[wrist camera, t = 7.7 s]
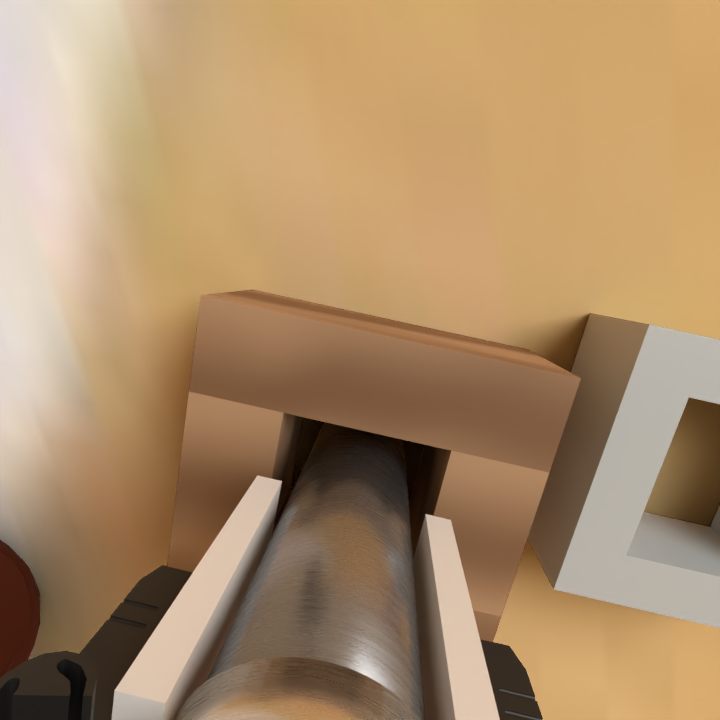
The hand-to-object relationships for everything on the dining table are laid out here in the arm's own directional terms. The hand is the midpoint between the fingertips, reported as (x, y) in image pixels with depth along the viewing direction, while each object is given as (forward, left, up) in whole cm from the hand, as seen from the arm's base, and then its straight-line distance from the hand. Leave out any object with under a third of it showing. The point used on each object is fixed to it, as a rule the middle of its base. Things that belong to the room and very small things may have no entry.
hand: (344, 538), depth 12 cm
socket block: (+2, 0, -7) cm, 7 cm away
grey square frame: (-3, +13, -7) cm, 15 cm away
